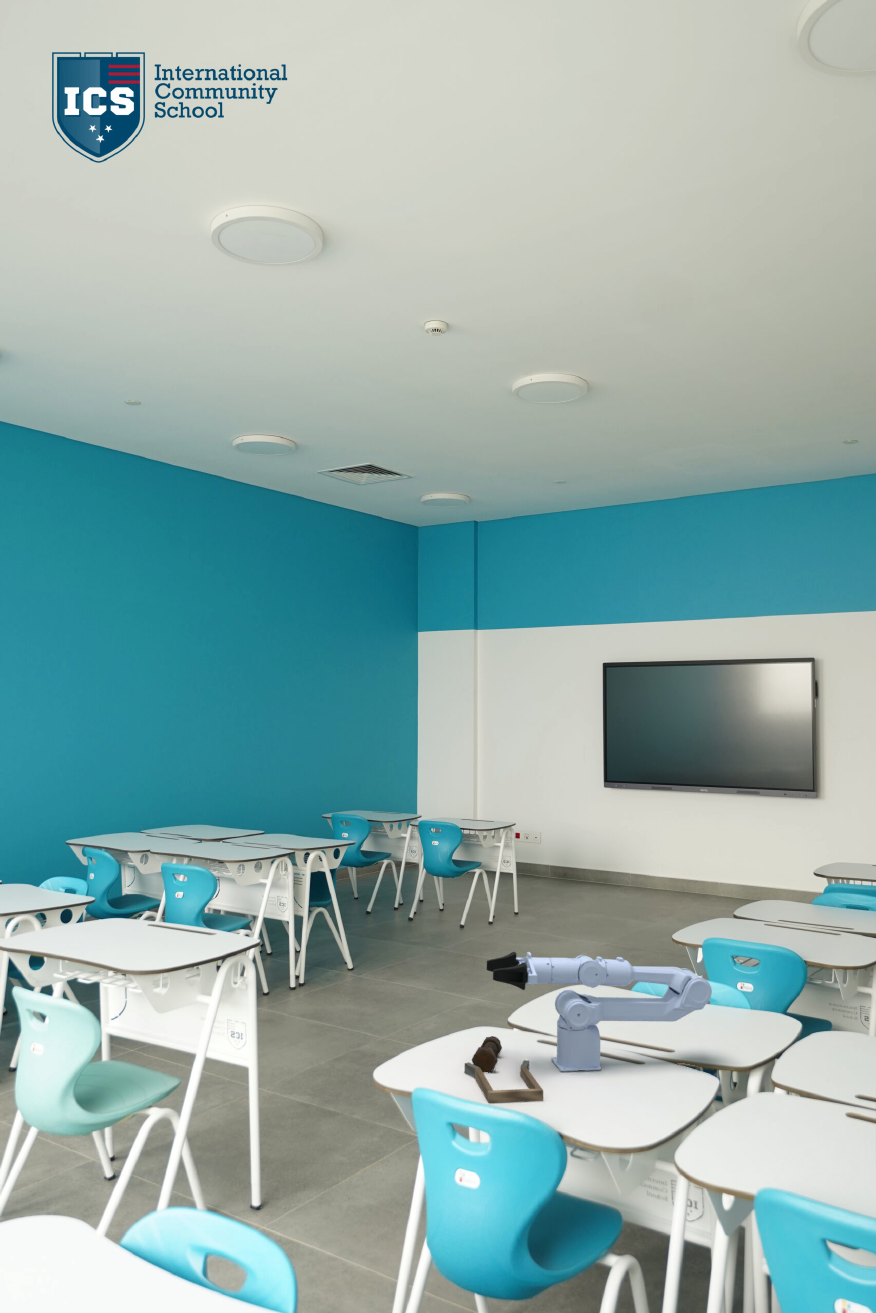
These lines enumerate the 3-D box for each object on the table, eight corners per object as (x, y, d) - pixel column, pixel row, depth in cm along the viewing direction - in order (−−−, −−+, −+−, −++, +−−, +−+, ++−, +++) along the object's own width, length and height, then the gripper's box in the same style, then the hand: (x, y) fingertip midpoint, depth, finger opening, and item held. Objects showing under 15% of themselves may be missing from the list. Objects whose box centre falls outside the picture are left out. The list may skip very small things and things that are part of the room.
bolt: (496, 1058, 224) (487, 1079, 210) (478, 1046, 226) (467, 1065, 211) (509, 1037, 224) (500, 1056, 210) (491, 1025, 226) (481, 1043, 211)
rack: (528, 1069, 213) (528, 1059, 213) (550, 1100, 195) (551, 1089, 195) (464, 1071, 210) (464, 1062, 210) (480, 1103, 193) (481, 1093, 193)
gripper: (541, 944, 224) (485, 943, 222) (557, 961, 209) (497, 960, 208) (540, 975, 223) (483, 974, 222) (556, 993, 209) (495, 993, 207)
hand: (489, 970), depth 215 cm, fingers open, 7 cm apart
